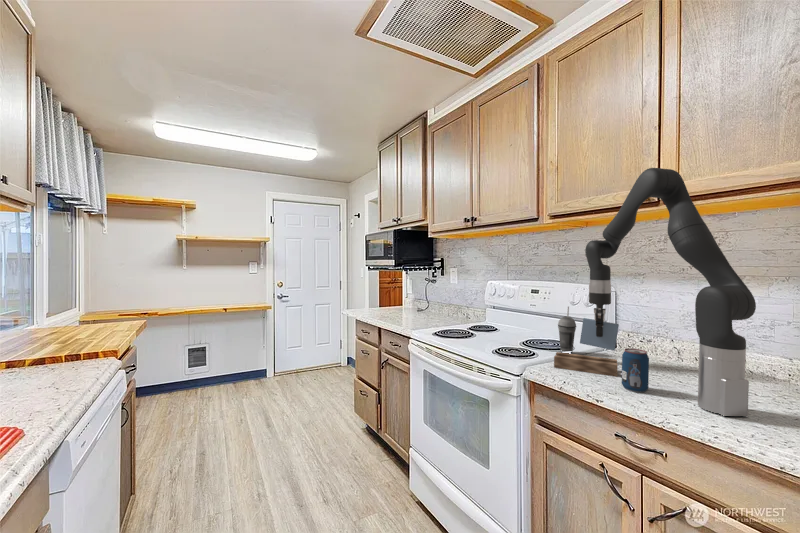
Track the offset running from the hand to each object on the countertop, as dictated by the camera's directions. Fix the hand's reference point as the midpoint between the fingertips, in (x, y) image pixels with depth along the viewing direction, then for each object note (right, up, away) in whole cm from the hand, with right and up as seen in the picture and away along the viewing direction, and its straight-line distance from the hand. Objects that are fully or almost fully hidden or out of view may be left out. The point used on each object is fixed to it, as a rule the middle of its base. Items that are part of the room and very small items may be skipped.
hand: (599, 335), depth 139 cm
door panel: (-1, -4, 0) cm, 4 cm away
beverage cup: (-6, -10, +14) cm, 19 cm away
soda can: (-5, -11, -29) cm, 31 cm away
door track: (-10, -10, -9) cm, 17 cm away
